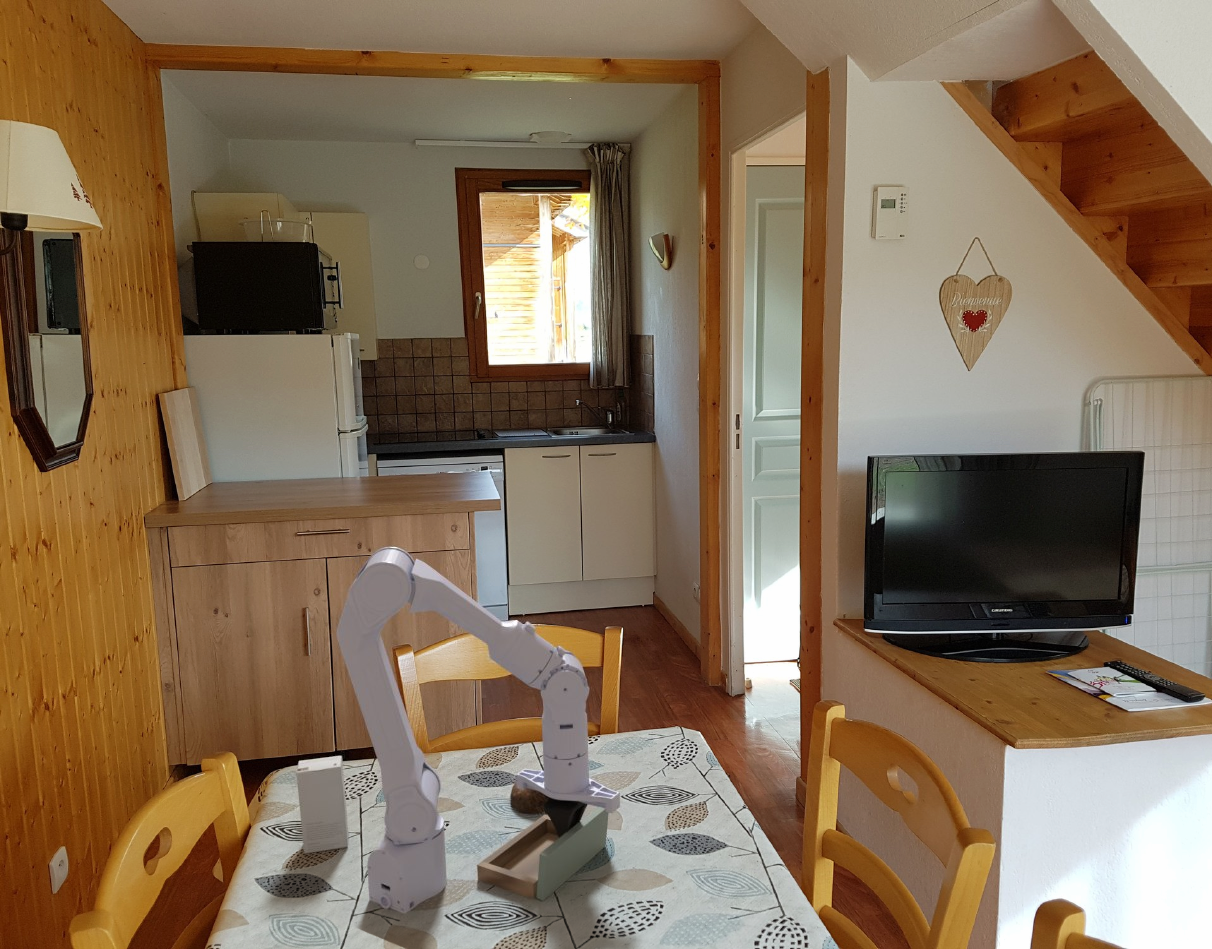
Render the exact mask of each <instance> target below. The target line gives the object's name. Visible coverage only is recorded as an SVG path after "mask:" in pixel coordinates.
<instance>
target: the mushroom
mask: <svg viewBox="0 0 1212 949" xmlns="http://www.w3.org/2000/svg"><path fill="white" fill-rule="evenodd" d="M509 797H510V805H511V806H512V808H513V809H514V810H515V811H517V812H518V813H521V814H524V815H537V814H541V813H543V812H545V811H544V804H545V803H546V802H547V801H548V798H549V797H548V796H546V795H545V794H543V793H542V792H540V791H537V790H533V789H529V788H525V789H519V788H517V780H516V781H515V782H514V784H513V785H512V788H511V792H510V796H509Z"/></svg>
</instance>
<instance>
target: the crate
mask: <svg viewBox="0 0 1212 949" xmlns="http://www.w3.org/2000/svg"><path fill="white" fill-rule="evenodd" d="M557 839H559V837H558V834H557V831H556V829H555V827H554V825H553V823H552V821H551V819H550V818H549V816H548V815H547V813H546V814H543V815H542V816H541V817H539V818H538V819H537V820H535V821H534V822H533V823H531V824H530V825H529V826H527V827H526V828H524V829H523V830H522V831H520V832H519V833H518V834H517V835H515V836H514V837H513V838H511V839H510V840H509V841H507V842H506V843H504V844H503V845H502V846H501V847H499V848H497V850H495V851H494V852H492V853H491V854H490V855H488V856H487V857H486V858H485V859H483V860H482V861H480V862H479V863H478V864H477V865H476V868H477V872H476V873H477V881H480V882H483V883H486V884H488V885H490V886H494V887H497V888H500V889H502V890H505V891H509V892H511V893H515V894H517V895H519V896H523V897H526V898H528V899H531V900H535V899H537V885H538V871H539V857H540V853H541V852H542V851H544V850H545V849H546V848H547V847H549V846H550V845H551V844H552V843H554V842H555V841H556V840H557Z"/></svg>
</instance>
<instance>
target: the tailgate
mask: <svg viewBox="0 0 1212 949" xmlns="http://www.w3.org/2000/svg"><path fill="white" fill-rule="evenodd" d="M609 814H610V813H609V812H606V811H605V808H601V807H597V806H596V808H595V809H593V810H592V811H591V812H589V814H587V815H586V816H585V817H584V818H581V821H580V822H579V823H577V824H576V825H575V826H574V827H572V828H571V829H570V830H569V831H568V832H566V833H565V834H564V835H562V836H561V837H560V838H559V839H557V840H556V841H555V842H554V843H552V844H551V845H550V846H549V847H547V848H546V849H545V850H544V851H542V852H541V853H540V857H539V871H538V885H537V897H536V899H538V900H539V901H542V902H544V901H546V899H547V898H549V897H550V896H551V895H552V894H553V893H554V892H556V890H558V889H559V888H560V887H561V886H563V884H565V883H566V882H567V881H568V880H569V879H570V878H572V876H574V875H575V874H576V873H577V872H578V871H579V870H580V869H582V868H583V867H584V866H585V865H586V864H588V863H589V862H590V861H591V860H592V859H593V858H594V857H596V855H597V854H599V853H600V852H602V850H603V849H604V848H605V847H606V846H607V834H608V825H609V824H608V823H609Z"/></svg>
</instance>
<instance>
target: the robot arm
mask: <svg viewBox="0 0 1212 949" xmlns="http://www.w3.org/2000/svg"><path fill="white" fill-rule="evenodd" d="M408 603H409V604H410V606H409V608H408V613H411V614H412V613H422V612H430V611H433V612H436V613H437V614H438V615H440V616H442V617H444V618H445V619H446V620H448V621H450V622H451V623H454V625H455V626H458V627H459V628H460V629H463V630H464V631H465V632H467V633H469V634H470V635H472V636H473V637H474V638H477V639H478V640H479V641H481V642H483V643H485V644H486V646H487V649H488V650H487V651H488V657H489V658H490V659H489V660H491V661H493V662H494V663H496V664H497V665H498V666H500V667H501V668H503V669H505V671H507V672H508V673H510V674H511V675H513V676H514V677H516V678H517V679H519V680H520V681H521V682H522V683H524V684H526V685H527V686H528V687H531V688H533V689H537V690H540V696H541V699H542V704H543V706H542V707H543V709H542V710H543V712H542V716H541V730H542V732H541V733H542V759H543V770H535V769H529V768H524V769H522V770H521V771H520V772H517V773H516V776H515V777H516V781H517V788H519V789H525V788H529V789H533V790H537V791H540V792H542V793H543V794H545V795H546V796H548V797H549V798H548V801H547V802H546V803H545V804H544V811H543V812H544V813H546V815H548V816H549V818H550V819H551V821H552V823H553V825H554V827H555V829H556V831H557V834H558V837H559V838H560V837H561V836H562V835H564V834H565V833H566V832H568V831H569V830H570V829H571V828H572V827H574V826H575V825H576V824H577V823H579V822H580V821H581V820H582V819H583V818H582V817H583V816H584V813H585V811H586V809H587V807H588V805H590V806H594V807H596V808H597V807H601V808H605V811H606V812H609V813H608V814H613V813H614V812H616V811H617V810H618V809H619V808H621V796H620V795H621V793H620V792H619V791H616V790H613V789H611V788H608V787H606V785H604V784H601V783H599V782H598V781H596V780H594V779H592V778H590V772H589V771H590V770H589V769H590V767H589V766H590V764H589V737H588V736H589V735H588V714H587V712H586V709H587V700H588V698H589V695H590V694H589V693H590V687H589V684H588V680H587V678H586V674H585V671H584V668H583V664H582V663H581V661H580V660H579V659H578V658H577V657H576V656H575V654H574V653H573V652H572V651H568V650H565V648H564V647H562V646H561V645H558V646H557V647H555V646H554V645H553V644H552V643H551V642H549V641H547V640H546V639H545V638H543V637H541V636H540V635H539V634H538V633H537V632H536V626H535V625H533V624H532V623H531V622H530V621H526V622H525V623H524V624H523V622H521V621H519V620H516V619H515V620H514V619H513V620H505V621H502V620H500V619H499V618H498V617H497V616H495V615H494V614H493V613H491V612H490V611H488V610H487V609H486V608H485V607H484V606H482V605H481V604H480V603H478V602H477V601H476V600H474V599H473V598H472V597H471V596H469V595H468V594H467V593H465V592H464V591H462V589H460V588H459V587H458V586H456V585H455V584H454V583H453V582H451V581H450V580H449V579H447V578H446V577H445V576H443V575H442V574H441V573H439V572H438V571H437V570H436V569H434V568H433V567H431V566H430V565H428V564H427V563H426V562H425V561H423V560H420V559H418V558H416V559H415V561H414V558H413V557H412V555H410V553H409V552H407V551H406V550H404V549H402V548H400V547H395V546H386V547H381V548H379V549H377V550H375V551H374V552H373V553H372V554H371V555H370V557H369V558H368V559H367V560H366V562H365V563H364V564H363V566H361V568H360V569H359V571H358V572H357V574H356V577H355V578H354V581H353V583H352V584H351V585H350V587H349V589H348V591H347V595H346V599H345V603H344V605H343V609H342V611H341V616H340V617H339V622H338V624H337V628H336V634H335V635H336V638H337V642H338V646H339V648H340V651H341V652H340V653H341V654H342V657H343V661H344V663H345V667H346V670H347V672H348V675H349V678H350V681H351V683H352V686H353V691H354V694H355V696H356V699H357V702H358V705H359V708H360V712H361V713H362V716H363V720H364V722H365V725H366V728H367V732H368V734H369V737H370V740H371V743H372V746H373V750H374V752H375V755H376V758H377V761H378V764H379V768H380V777H381V787H382V795H383V797H384V800H385V804H386V805H385V813H384V818H383V819H384V826H385V828H384V829H385V830H384V831H385V833H384V836H383V839H382V840H381V841H380V843H379V844H378V846H377V847H376V848H375V849H374V850H373V851H372V852H371V853H370V854H369V856H368V858H367V879H368V882H367V883H368V895H369V899H368V900H369V901H370V902H373V903H375V904H378V905H380V906H381V907H382V908H383V909H386V910H388V909H391V910H393V911H396V912H398V913H401V914H404V915H405V914H407V913H409V912H410V911H411V910H413V909H414V908H416V907H417V906H418V905H419V904H421V903H422V902H424V901H426V900H428V899H430V898H433V897H434V896H437V895H438V894H439V893H441V892H442V891H443V890H444V889H445V888H446V886H447V883H448V882H447V878H448V877H447V876H448V875H447V862H446V861H447V858H446V838H445V836H446V835H445V820H444V818H443V816H441V814H440V813H439V812H438V804H439V795H440V792H441V787H442V786H441V780H440V776H439V774H438V773H437V771H436V770H435V769H434V768H433V767H432V766H430V764H428V761H427V760H426V758H425V754H424V752H423V750H421V749H420V748H419V746H418V744H417V741H416V739H415V735H414V732H413V728H412V726H411V723H410V721H409V717H408V714H407V712H406V708H405V706H404V703H403V702H404V701H403V699H402V696H401V694H400V690H399V687H398V683H397V681H396V677H395V675H394V672H393V669H392V666H391V662H390V659H389V656H388V654H387V650H386V648H385V644H384V641H383V638H382V636H381V632H382V631H383V629H384V628H385V626H386V625H387V622H388V620H389V619H391V618H392V617H394V616H395V615H396V614H397V613H398V612H400V611H401V610H402V609H403V608H404V607H405V606H406V605H407V604H408Z"/></svg>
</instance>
